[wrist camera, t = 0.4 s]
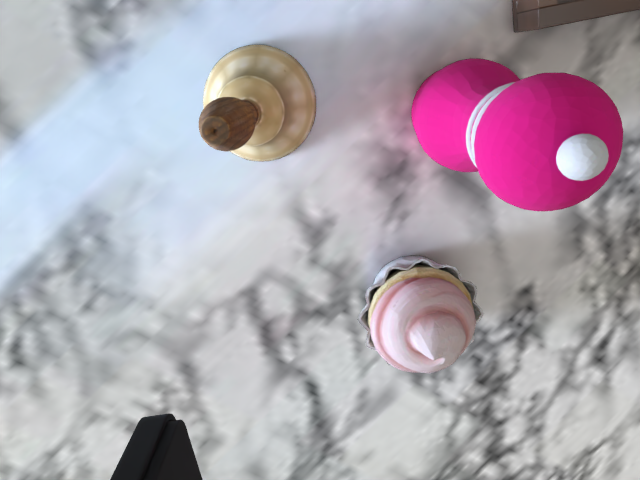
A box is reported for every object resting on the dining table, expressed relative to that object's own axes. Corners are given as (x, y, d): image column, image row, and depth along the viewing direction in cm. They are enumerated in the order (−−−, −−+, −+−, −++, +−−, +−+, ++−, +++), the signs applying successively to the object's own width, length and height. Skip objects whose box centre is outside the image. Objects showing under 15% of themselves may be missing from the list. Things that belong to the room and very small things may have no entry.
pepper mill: (407, 164, 38) (494, 264, 19) (401, 65, 36) (493, 70, 17) (502, 152, 38) (683, 242, 19) (501, 52, 36) (709, 42, 17)
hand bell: (191, 140, 38) (107, 193, 23) (220, 27, 35) (145, 2, 20) (296, 175, 39) (281, 248, 24) (331, 68, 36) (341, 73, 21)
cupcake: (334, 311, 43) (338, 382, 33) (389, 218, 40) (411, 267, 30) (427, 354, 44) (457, 434, 35) (486, 268, 41) (536, 329, 32)
